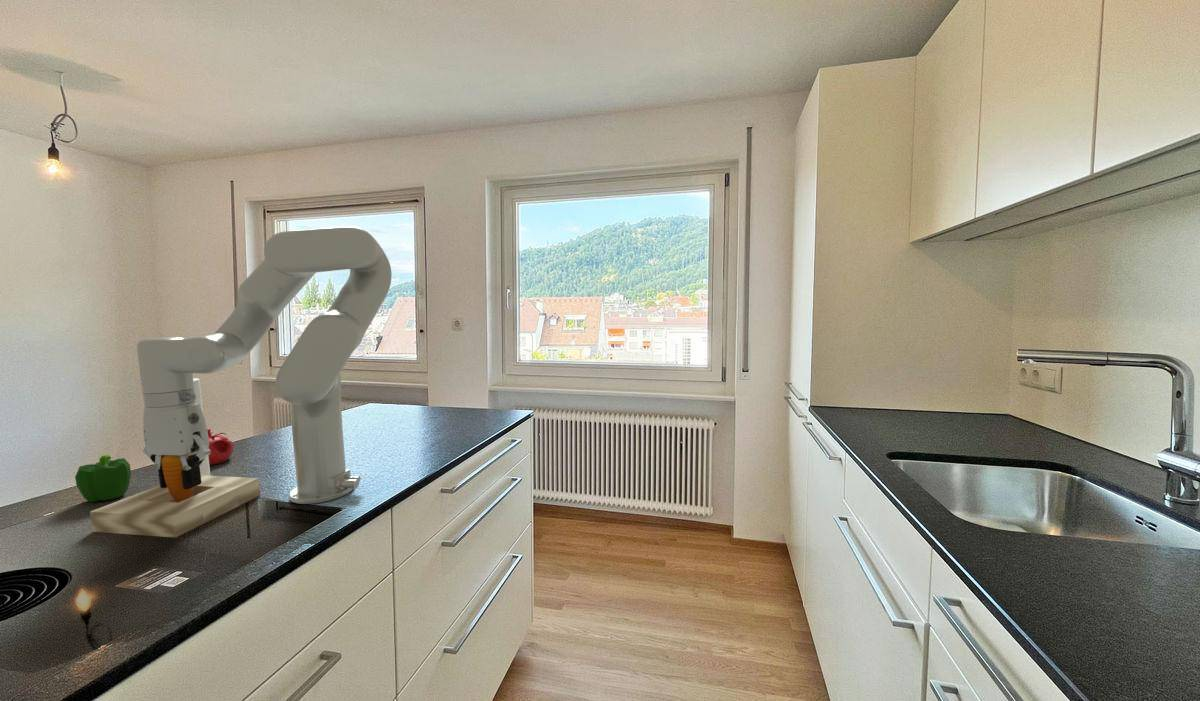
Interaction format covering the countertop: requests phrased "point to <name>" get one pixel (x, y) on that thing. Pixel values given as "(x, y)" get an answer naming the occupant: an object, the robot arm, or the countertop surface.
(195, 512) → the maple block
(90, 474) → the bell pepper
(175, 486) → the carrot
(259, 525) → the countertop surface
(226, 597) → the countertop surface
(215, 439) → the pomegranate
